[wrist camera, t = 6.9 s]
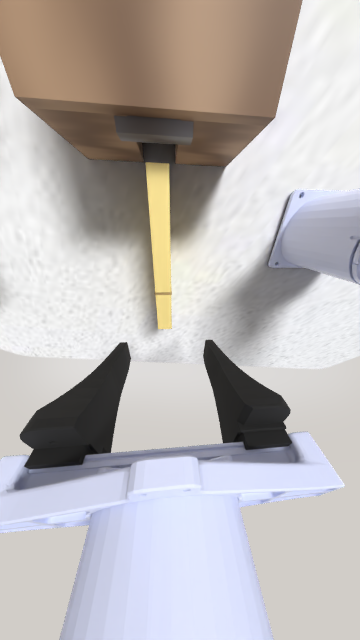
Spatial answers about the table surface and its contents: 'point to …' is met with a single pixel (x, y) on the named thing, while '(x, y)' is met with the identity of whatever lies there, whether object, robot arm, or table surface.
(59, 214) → the table surface
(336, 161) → the table surface
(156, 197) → the ticket
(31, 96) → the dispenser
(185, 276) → the table surface
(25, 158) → the table surface
